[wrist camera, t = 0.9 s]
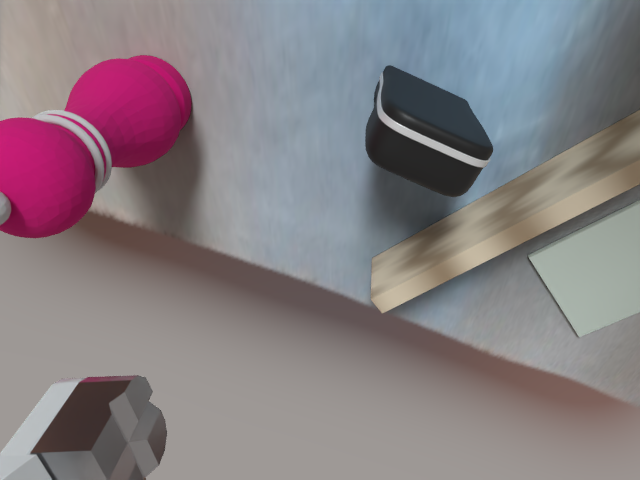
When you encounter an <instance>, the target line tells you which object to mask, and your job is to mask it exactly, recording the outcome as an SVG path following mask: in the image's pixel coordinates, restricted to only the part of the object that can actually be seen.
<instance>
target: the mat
mask: <svg viewBox="0 0 640 480" xmlns="http://www.w3.org/2000/svg"><path fill="white" fill-rule="evenodd" d="M528 257H529V259H530V260H531V262H532V264H533V265H534V267H535V268H536V270H537V271H538V273H539V275H540V276H541V278H542V279H543V281H544V282H545V284H546V286H547V287H548V289H549V290H550V292H551V293H552V295H553V297H554V298H555V300H556V301H557V303H558V305H559V306H560V308H561V309H562V311H563V312H564V314H565V316H566V317H567V319H568V320H569V322H570V323H571V325H572V327H573V328H574V330H575V331H576V333H577V334H578V336H579V337H581V336H584V335H586V334H589V333H591V332H593V331H596V330H598V329H601V328H603V327H605V326H608V325H610V324H613V323H615V322H618V321H620V320H622V319H625V318H627V317H630V316H632V315H635V314H637V313H639V312H640V200H639V201H637V202H635V203H633V204H631V205H629V206H627V207H625V208H623V209H621V210H619V211H616V212H614V213H612V214H610V215H608V216H606V217H604V218H602V219H600V220H598V221H596V222H594V223H592V224H590V225H588V226H586V227H584V228H582V229H580V230H578V231H576V232H574V233H572V234H570V235H568V236H566V237H564V238H562V239H559V240H557V241H555V242H553V243H551V244H549V245H547V246H545V247H543V248H541V249H539V250H537V251H535V252H533V253H531V254H529V255H528Z"/></svg>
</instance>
